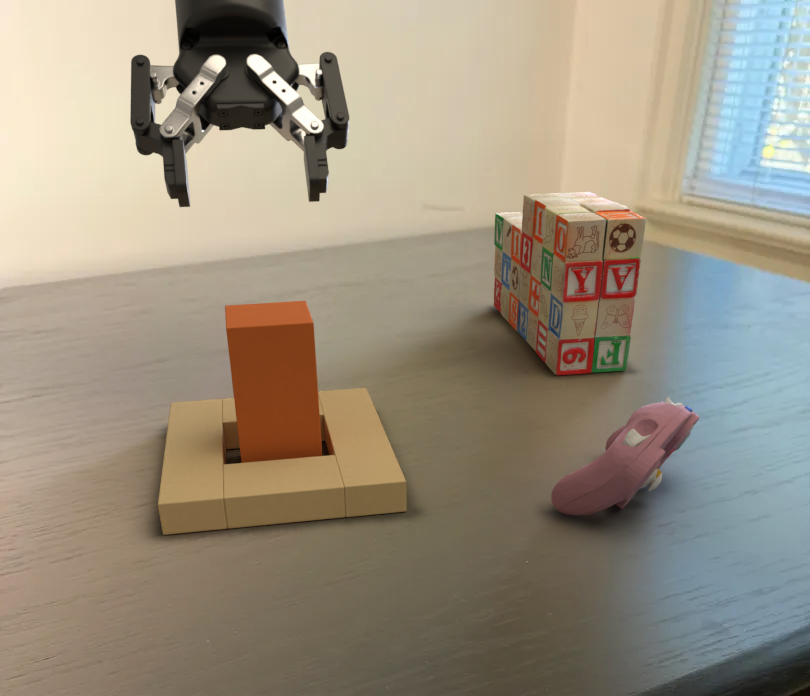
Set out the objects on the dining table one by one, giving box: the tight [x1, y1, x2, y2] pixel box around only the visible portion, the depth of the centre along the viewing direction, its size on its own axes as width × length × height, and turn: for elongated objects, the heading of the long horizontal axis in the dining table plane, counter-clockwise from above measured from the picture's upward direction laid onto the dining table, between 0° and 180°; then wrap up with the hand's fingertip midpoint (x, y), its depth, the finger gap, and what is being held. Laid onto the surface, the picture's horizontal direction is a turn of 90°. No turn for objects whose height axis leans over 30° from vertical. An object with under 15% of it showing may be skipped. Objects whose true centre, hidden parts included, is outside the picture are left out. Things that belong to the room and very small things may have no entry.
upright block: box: [224, 300, 323, 463], centre depth 55 cm, size 5×5×10 cm
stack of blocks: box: [493, 191, 647, 376], centre depth 79 cm, size 21×6×12 cm, turn 9°
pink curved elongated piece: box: [550, 395, 700, 516], centre depth 52 cm, size 10×5×7 cm, turn 147°
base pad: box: [157, 387, 408, 536], centre depth 57 cm, size 14×16×2 cm
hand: (249, 196), depth 58 cm, fingers open, 8 cm apart
